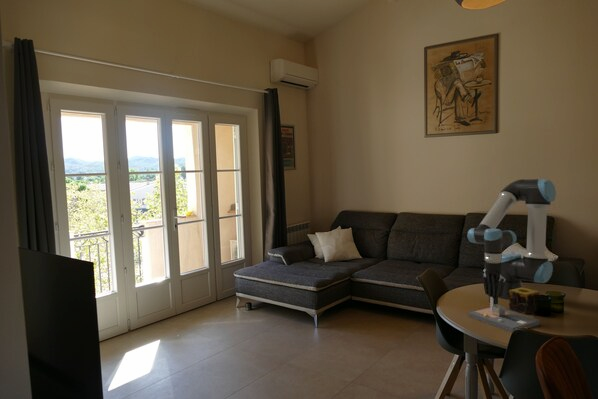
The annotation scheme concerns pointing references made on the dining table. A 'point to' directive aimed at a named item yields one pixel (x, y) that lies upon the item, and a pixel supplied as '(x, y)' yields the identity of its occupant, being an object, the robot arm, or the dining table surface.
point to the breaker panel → (504, 319)
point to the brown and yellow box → (522, 300)
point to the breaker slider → (498, 310)
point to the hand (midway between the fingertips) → (493, 310)
